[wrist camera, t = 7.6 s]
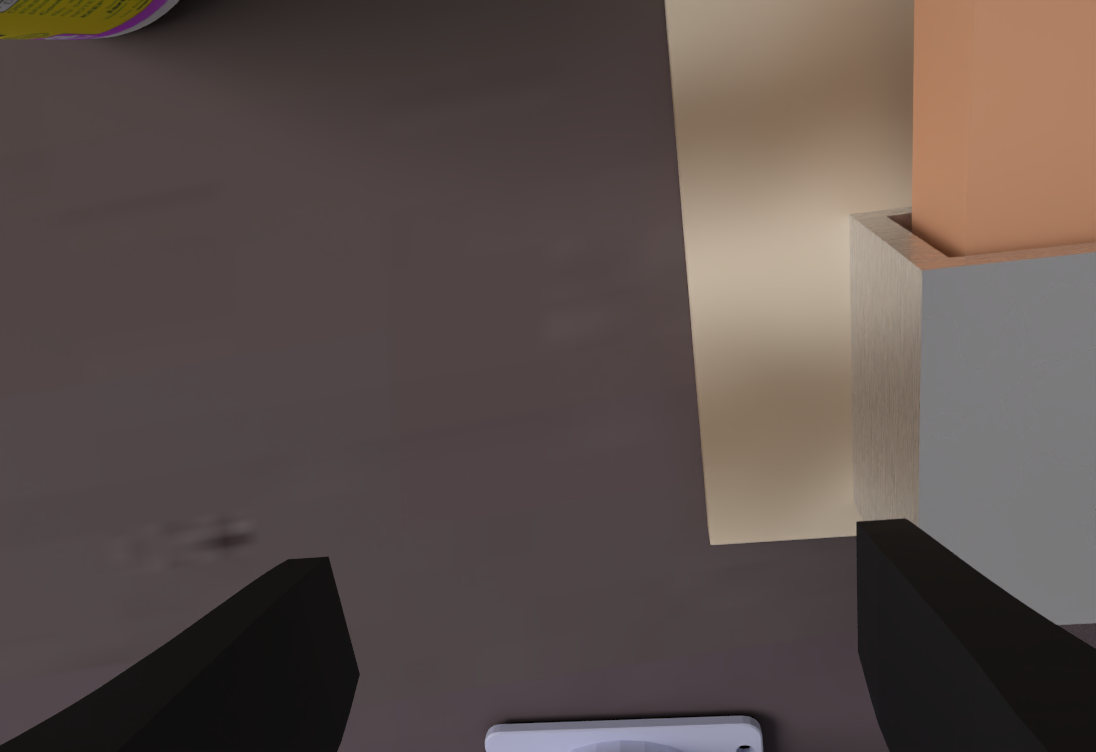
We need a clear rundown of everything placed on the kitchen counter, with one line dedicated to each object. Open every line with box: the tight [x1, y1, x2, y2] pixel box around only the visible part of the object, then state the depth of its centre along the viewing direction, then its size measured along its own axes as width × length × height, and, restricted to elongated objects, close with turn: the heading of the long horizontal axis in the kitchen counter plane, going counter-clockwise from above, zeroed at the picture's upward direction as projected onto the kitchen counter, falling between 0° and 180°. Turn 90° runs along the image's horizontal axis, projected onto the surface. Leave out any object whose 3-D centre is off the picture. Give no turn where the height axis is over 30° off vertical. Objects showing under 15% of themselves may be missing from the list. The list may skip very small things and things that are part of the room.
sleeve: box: [849, 207, 1096, 625], centre depth 17 cm, size 7×5×5 cm
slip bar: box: [912, 0, 1096, 258], centre depth 13 cm, size 12×3×6 cm, turn 8°
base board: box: [664, 0, 914, 545], centre depth 18 cm, size 19×12×1 cm, turn 8°
